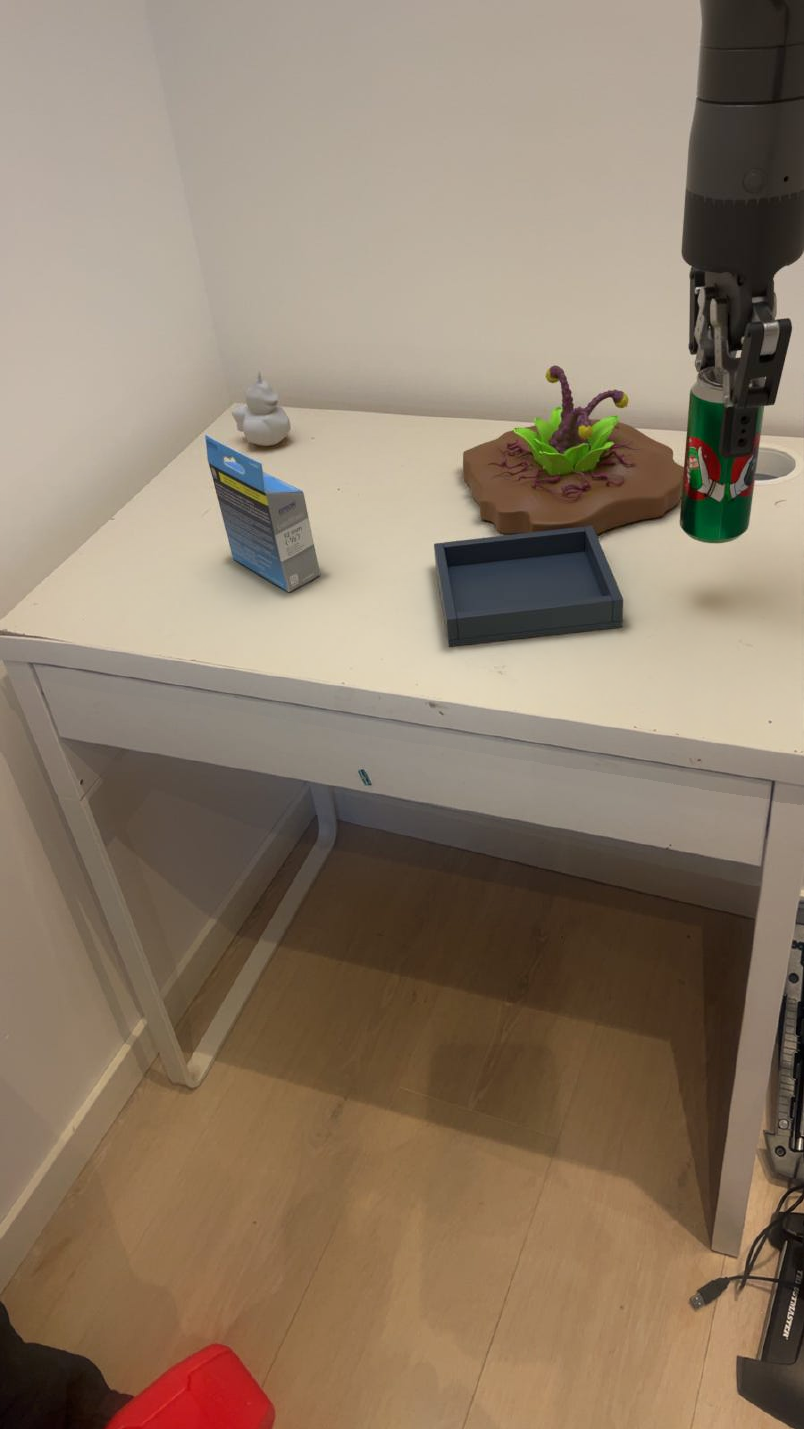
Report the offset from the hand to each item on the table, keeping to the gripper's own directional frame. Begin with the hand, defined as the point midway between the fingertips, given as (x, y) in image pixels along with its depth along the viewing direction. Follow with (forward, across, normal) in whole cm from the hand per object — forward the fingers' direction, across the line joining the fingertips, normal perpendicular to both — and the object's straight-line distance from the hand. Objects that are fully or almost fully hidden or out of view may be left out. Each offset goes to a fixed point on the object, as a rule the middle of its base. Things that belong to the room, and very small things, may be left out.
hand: (722, 437), depth 74 cm
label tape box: (+14, +12, +35) cm, 40 cm away
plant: (+14, +21, +7) cm, 26 cm away
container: (+14, +3, +14) cm, 20 cm away
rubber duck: (+13, +39, +37) cm, 56 cm away
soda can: (+8, 0, 0) cm, 8 cm away
